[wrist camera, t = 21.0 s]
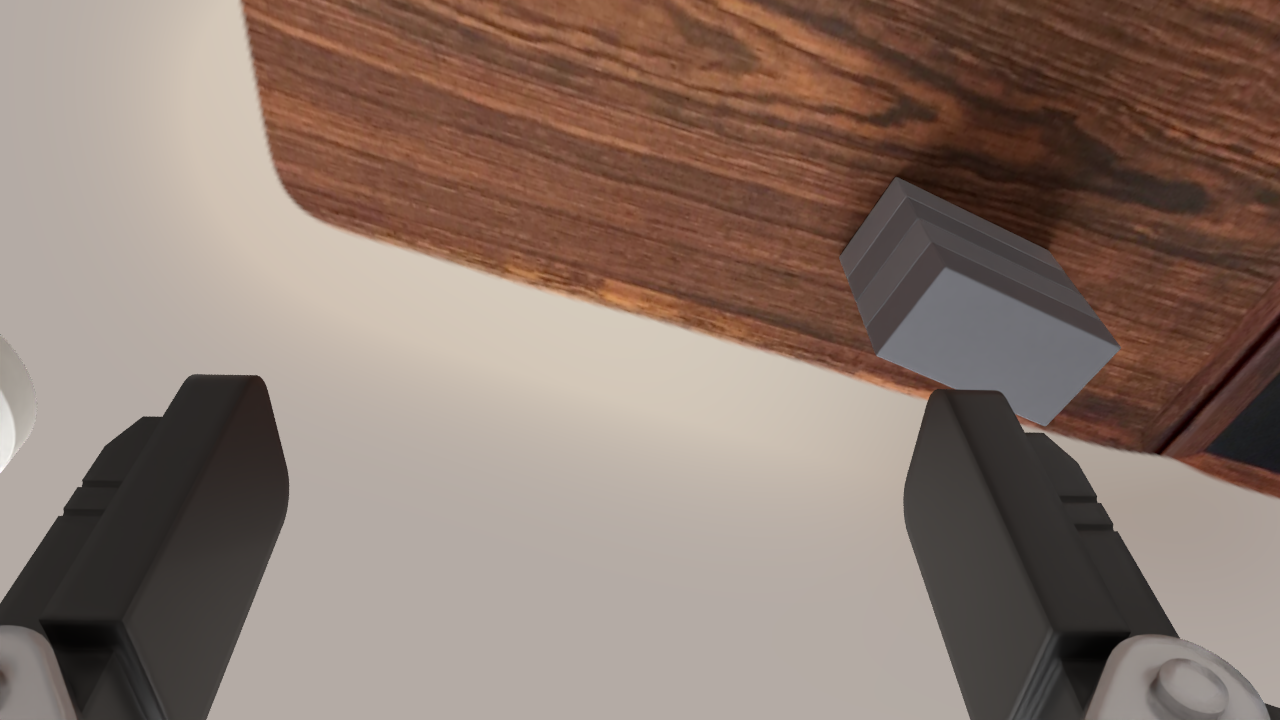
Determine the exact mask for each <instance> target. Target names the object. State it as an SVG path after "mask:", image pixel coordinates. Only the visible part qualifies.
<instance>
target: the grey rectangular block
mask: <svg viewBox="0 0 1280 720" xmlns="http://www.w3.org/2000/svg"><path fill="white" fill-rule="evenodd" d="M839 259H840V261H841V264H842V267H843V269H844V272H845V275H846V277H847V279H848V282H849V285H850V287H851V290H852V293H853V295H854V298H855V301H856V302H857V306H858V309H859V312H860V314H861V317H862V320H863V322H864V325H865V327H866V330H867V333H868V336H869V338H870V341H871V343H872V346H873V349H874V351H875V354H876V356H878V357H881V358H883V359H885V360H888V361H890V362H893V363H895V364H897V365H900V366H902V367H904V368H907V369H909V370H912V371H914V372H916V373H919V374H921V375H924V376H926V377H928V378H931V379H933V380H935V381H938V382H940V383H943V384H945V385H947V386H950V387H952V388H955V389H957V390H997V391H1000V392H1001V393H1002V394H1003V395H1004V396H1005V397H1006V399H1007V401H1008V402H1009V404H1010V406H1011V408H1012V410H1013V412H1014V414H1017V415H1019V416H1021V417H1024V418H1026V419H1029V420H1031V421H1033V422H1036V423H1038V424H1040V425H1043V426H1047V425H1048V424H1049V422H1050V421H1051V420H1052V419H1053V418H1054V417H1055V416H1056V415H1057V414H1058V413H1059V412H1060V411H1061V410H1062V409H1063V408H1064V407H1065V406H1066V405H1067V404H1068V403H1069V402H1070V401H1071V400H1072V399H1073V398H1074V397H1075V395H1076V394H1077V393H1078V392H1079V391H1080V390H1081V389H1082V388H1083V387H1084V386H1085V385H1086V384H1087V383H1088V382H1089V381H1090V380H1091V379H1092V378H1093V377H1094V376H1095V375H1096V374H1097V373H1098V372H1099V371H1100V370H1101V369H1102V367H1103V366H1104V365H1105V364H1106V363H1107V362H1108V361H1109V360H1110V359H1111V358H1112V357H1113V356H1114V355H1115V354H1116V353H1117V352H1118V351H1119V350H1120V349H1121V347H1120V346H1119V344H1118V343H1117V342H1116V340H1115V339H1114V338H1113V336H1112V335H1111V334H1110V332H1109V331H1108V329H1107V328H1106V327H1105V325H1104V324H1103V323H1102V321H1100V319H1099V317H1098V316H1097V315H1096V313H1095V312H1094V311H1093V309H1092V308H1091V307H1090V305H1089V304H1088V303H1087V301H1086V300H1085V299H1084V297H1083V296H1082V295H1081V293H1080V292H1079V291H1078V289H1077V288H1076V287H1075V285H1074V284H1073V283H1072V281H1071V280H1070V279H1069V277H1068V276H1067V275H1066V273H1065V272H1064V270H1063V269H1062V268H1061V266H1060V265H1059V264H1058V262H1057V261H1056V260H1055V258H1054V257H1053V256H1052V254H1051V253H1050V252H1049V251H1048V250H1046V249H1044V248H1042V247H1040V246H1038V245H1036V244H1034V243H1032V242H1030V241H1028V240H1026V239H1024V238H1022V237H1020V236H1018V235H1015V234H1013V233H1011V232H1009V231H1007V230H1005V229H1003V228H1001V227H999V226H997V225H995V224H993V223H991V222H989V221H987V220H985V219H983V218H980V217H978V216H976V215H974V214H972V213H970V212H968V211H966V210H964V209H962V208H960V207H958V206H956V205H954V204H952V203H950V202H948V201H945V200H943V199H941V198H939V197H937V196H935V195H933V194H931V193H929V192H927V191H925V190H923V189H921V188H919V187H917V186H915V185H913V184H910V183H908V182H906V181H904V180H902V179H900V178H898V177H895V178H894V180H893V181H892V183H891V184H890V185H889V187H888V188H887V190H886V191H885V193H884V194H883V195H882V197H881V198H880V200H879V201H878V203H877V204H876V205H875V207H874V208H873V210H872V211H871V212H870V214H869V215H868V217H867V218H866V220H865V221H864V222H863V224H862V225H861V227H860V228H859V230H858V231H857V232H856V234H855V235H854V237H853V238H852V240H851V241H850V242H849V244H848V245H847V247H846V248H845V250H844V251H843V252H842V254H841V255H840V257H839Z"/></svg>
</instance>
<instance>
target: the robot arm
mask: <svg viewBox="0 0 1280 720" xmlns="http://www.w3.org/2000/svg"><path fill="white" fill-rule="evenodd" d="M82 481H83V485H82V487H78V488H77V489H76V491H75V492H74V494H73V495H72V497H71V498H70V500H69V501H68V503H67V504H66V506H65V507H64V514H63V516H58V518H57V519H56V521H55V522H54V524H53V525H52V527H51V528H50V530H49V531H48V533H47V534H46V536H45V537H44V539H43V540H42V542H41V543H40V545H39V546H38V548H37V549H36V551H35V552H34V554H33V555H32V557H31V558H30V560H29V561H28V563H27V564H26V566H25V567H24V569H23V570H22V572H21V573H20V575H19V576H18V578H17V579H16V581H15V582H14V584H13V585H12V587H11V588H10V590H9V591H8V593H7V594H6V596H5V597H4V599H3V600H2V602H1V603H0V720H206V719H207V716H208V714H209V711H210V708H211V706H212V703H213V701H214V698H215V696H216V693H217V691H218V688H219V686H220V683H221V681H222V678H223V676H224V673H225V670H226V668H227V665H228V663H229V660H230V658H231V655H232V653H233V650H234V647H235V645H236V643H237V640H238V638H239V635H240V632H241V630H242V627H243V625H244V622H245V620H246V617H247V615H248V612H249V610H250V607H251V605H252V602H253V599H254V597H255V594H256V591H257V589H258V587H259V584H260V582H261V579H262V577H263V574H264V572H265V569H266V566H267V564H268V561H269V559H270V556H271V554H272V551H273V548H274V546H275V543H276V541H277V539H278V536H279V533H280V530H281V528H282V526H283V523H284V520H285V517H286V512H287V507H288V500H289V477H288V471H287V466H286V462H285V458H284V454H283V450H282V446H281V442H280V438H279V434H278V430H277V426H276V422H275V418H274V414H273V410H272V406H271V402H270V398H269V394H268V390H267V387H266V385H265V382H264V381H263V379H262V378H261V377H260V376H257V375H202V374H195V375H191V376H189V377H188V378H187V379H186V380H185V381H184V383H183V385H182V386H181V388H180V389H179V391H178V392H177V394H176V396H175V398H174V399H173V401H172V402H171V404H170V406H169V407H168V409H167V410H166V412H165V414H164V415H163V417H142V418H141V419H139V420H138V421H137V422H135V423H134V424H133V425H132V426H130V427H129V428H128V429H126V430H125V431H124V432H123V433H121V434H120V435H119V436H117V437H116V438H115V439H113V440H112V441H111V442H110V443H108V444H107V445H106V446H105V447H104V449H103V450H102V451H101V453H100V454H99V456H98V457H97V459H96V461H95V462H94V463H93V465H92V467H91V468H90V469H89V471H88V473H87V474H86V476H85V477H84V478H83V480H82ZM904 517H905V524H906V529H907V532H908V535H909V538H910V541H911V544H912V547H913V550H914V553H915V556H916V559H917V562H918V565H919V568H920V571H921V574H922V577H923V580H924V583H925V586H926V589H927V592H928V594H929V598H930V601H931V604H932V607H933V610H934V613H935V616H936V619H937V622H938V624H939V628H940V630H941V633H942V636H943V639H944V642H945V645H946V648H947V651H948V654H949V657H950V660H951V663H952V666H953V669H954V672H955V675H956V678H957V681H958V684H959V687H960V690H961V693H962V696H963V699H964V701H965V705H966V708H967V711H968V713H969V716H970V719H971V720H1280V708H1278V707H1274V706H1271V705H1268V704H1265V703H1264V702H1263V701H1262V699H1261V697H1260V695H1259V694H1258V692H1257V691H1256V690H1255V689H1254V688H1253V686H1252V685H1251V683H1250V682H1249V681H1248V680H1247V679H1246V678H1245V677H1244V676H1243V675H1242V674H1241V673H1240V672H1239V671H1238V670H1236V669H1235V668H1234V667H1233V666H1231V665H1230V664H1229V663H1228V662H1226V661H1225V660H1223V659H1222V658H1220V657H1219V656H1217V655H1216V654H1214V653H1212V652H1211V651H1209V650H1206V649H1205V648H1203V647H1201V646H1199V645H1196V644H1194V643H1192V642H1189V641H1186V640H1183V639H1180V637H1179V636H1178V634H1177V633H1176V631H1175V629H1174V628H1173V626H1172V624H1171V622H1170V621H1169V619H1168V617H1167V616H1166V614H1165V612H1164V610H1163V609H1162V607H1161V605H1160V603H1159V602H1158V600H1157V598H1156V597H1155V595H1154V593H1153V592H1152V590H1151V588H1150V586H1149V585H1148V583H1147V581H1146V579H1145V578H1144V576H1143V575H1142V573H1141V571H1140V569H1139V567H1138V566H1137V564H1136V562H1135V561H1134V559H1133V557H1132V556H1131V554H1130V552H1129V550H1128V549H1127V547H1126V545H1125V544H1124V542H1123V540H1122V539H1121V536H1120V535H1119V533H1118V532H1117V531H1116V532H1115V531H1113V523H1112V521H1111V520H1110V518H1109V516H1108V514H1107V513H1106V511H1105V509H1104V507H1103V506H1102V504H1101V503H1097V495H1096V494H1095V492H1094V490H1093V488H1092V487H1091V485H1090V483H1089V481H1088V480H1087V478H1086V476H1085V475H1084V473H1083V471H1082V469H1081V468H1080V466H1079V464H1078V463H1077V462H1076V461H1075V460H1074V459H1073V458H1071V456H1069V455H1068V454H1067V453H1066V452H1065V451H1063V450H1062V449H1061V448H1060V447H1059V446H1058V445H1057V444H1055V443H1054V442H1053V441H1052V440H1051V439H1050V438H1049V437H1047V436H1046V435H1045V434H1044V433H1025V432H1024V430H1023V429H1022V427H1021V425H1020V423H1019V421H1018V419H1017V417H1016V416H1015V414H1014V412H1013V410H1012V408H1011V406H1010V404H1009V402H1008V401H1007V399H1006V397H1005V396H1004V395H1003V394H1002V393H1001V392H1000V391H997V390H950V389H937V390H935V391H934V392H933V393H932V394H931V395H930V397H929V400H928V402H927V405H926V409H925V413H924V416H923V420H922V424H921V428H920V431H919V434H918V438H917V442H916V445H915V449H914V452H913V456H912V460H911V463H910V467H909V470H908V474H907V478H906V482H905V488H904Z"/></svg>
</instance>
